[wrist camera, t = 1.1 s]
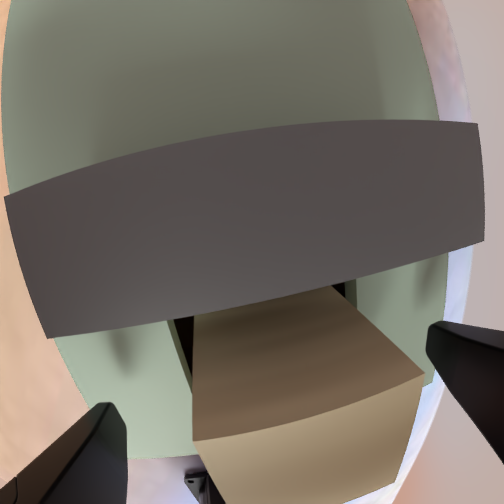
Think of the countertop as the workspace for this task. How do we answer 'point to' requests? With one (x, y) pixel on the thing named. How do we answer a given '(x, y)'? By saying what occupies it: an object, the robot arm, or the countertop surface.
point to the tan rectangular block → (300, 400)
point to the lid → (223, 179)
